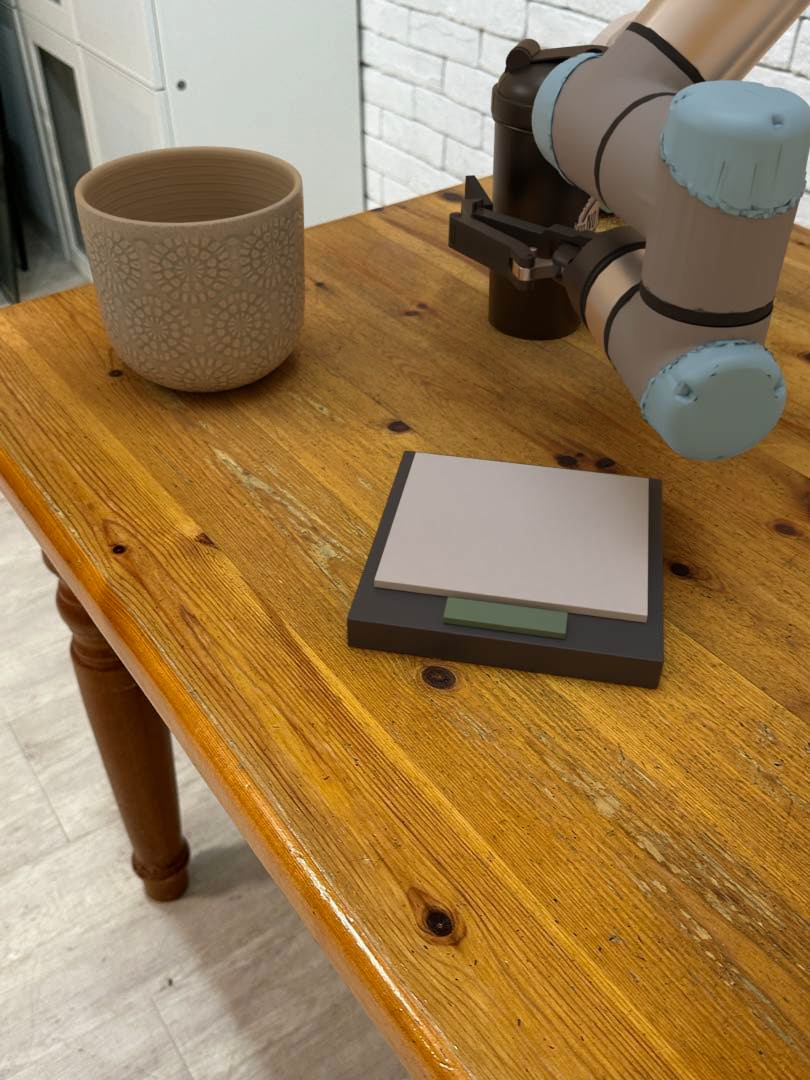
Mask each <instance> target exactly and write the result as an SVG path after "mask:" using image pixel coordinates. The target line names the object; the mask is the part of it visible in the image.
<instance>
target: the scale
mask: <svg viewBox="0 0 810 1080" xmlns="http://www.w3.org/2000/svg"><path fill="white" fill-rule="evenodd" d="M663 522H664V521H663V478H655V477H654V478H653V477H646V476H638V475H637V476H636V475H627V474H619V473H611V472H610V473H609V472H601V471H600V472H599V471H593V470H592V471H591V470H585V469H584V470H583V469H573V468H566V467H565V468H564V467H558V466H549V465H541V464H540V465H539V464H530V463H521V462H511V461H504V460H495V459H494V460H493V459H487V458H486V459H485V458H477V457H468V456H460V455H449V454H441V453H432V452H423V451H413V450H404V451H403V453H402V456H401V459H400V462H399V465H398V468H397V470H396V474H395V477H394V480H393V482H392V486H391V489H390V491H389V494H388V497H387V500H386V502H385V506H384V509H383V511H382V515H381V518H380V520H379V523H378V525H377V526H378V527H377V529H376V532H375V535H374V538H373V541H372V544H371V547H370V549H369V553H368V555H367V559H366V562H365V565H364V568H363V570H362V572H361V573H362V574H361V576H360V579H359V582H358V585H357V588H356V591H355V593H354V597H353V599H352V602H351V605H350V608H349V611H348V613H347V617H346V633H347V634H346V635H347V646H348V647H355V648H363V649H370V650H377V651H383V652H390V653H391V652H392V653H398V654H404V655H412V656H420V657H427V658H435V659H440V660H449V661H455V662H460V663H461V662H462V663H470V664H476V665H484V666H490V667H491V666H492V667H498V668H505V669H511V670H519V671H526V672H534V673H541V674H547V675H555V676H562V677H568V678H569V677H570V678H576V679H583V680H592V681H597V682H603V683H611V684H620V685H627V686H633V687H641V688H649V689H654V690H655V689H657V690H658V688H659V685H660V681H661V676H662V672H663V668H664V664H665V663H664V662H665V645H664V643H665V641H664V640H665V638H664V637H665V634H664V628H665V627H664V533H663V532H664V531H663V530H664V527H663V526H664V525H663Z"/></svg>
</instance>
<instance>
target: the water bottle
mask: <svg viewBox="0 0 810 1080" xmlns="http://www.w3.org/2000/svg"><path fill="white" fill-rule="evenodd" d="M608 49H609V47H606V46H602V45H589V44H582V45H572V46H560V47H552V48H551V47H550V48H544V49H542V48H541V45H540V44H539V43H538V41H537V40H535V39H533V38H526V39H523V40H521V41H519V42H518V43H517V44H516V45H515V46H514V47H512V49H511V50H510V51H509V52H508V54H507V56H506V58H505V67H504V71H503V72H502V73H501V75H500V77H499V78H498V81H497V82H496V83H495V84H493V86H492V88H491V96H490V113H491V118H492V120H493V122H494V129H493V130H494V133H493V161H492V187H491V188H492V190H491V201H492V203H493V211H494V212H497V213H500V214H504V215H507V216H510V217H513V218H517V219H520V220H523V221H527V222H530V223H533V224H536V225H540V226H543V227H546V228H549V227H551V226H553V225H555V224H559V225H562V226H565V227H569V228H572V229H575V230H579V231H584V230H590V231H594V232H597V227H598V220H599V214H600V210H601V209H600V202H599V201H597V200H596V199H595V198H593V197H592V196H590V195H589V194H588V193H586V192H585V191H584V190H582V189H580V188H578V187H576V186H574V185H571V184H569V183H568V182H567V181H566V180H565V179H564V178H563V177H562V176H561V175H560V173H559V171H558V170H557V169H556V168H555V167H554V166H553V165H552V164H551V163H549V162H548V161H547V160H546V159H545V158H544V156H543V154H542V153H541V151H540V150H539V148H538V146H537V144H536V141H535V138H534V134H533V129H532V112H533V106H534V102H535V98H536V96H537V93H538V91H539V89H540V87H541V85H542V83H543V82H544V80H545V79H546V77H547V76H548V75H549V73H550V72H551V71H552V70H553V69H554V68H555V67H557V66H558V65H559V64H560V63H563V62H565V61H566V60H568V59H570V58H572V57H574V56H577V55H579V54H583V53H602V54H604V53H605V52H606V51H607V50H608ZM564 242H565V241H564V240H559V247H560V246H561V245H562V244H563V243H564ZM488 274H489V277H488V302H487V303H488V304H487V305H488V306H487V319H488V322H489V323H490V324H491V325H492V327H493V328H494V329H497V331H500V332H501V333H504V334H506V335H508V336H512V337H515V338H520V339H526V340H534V341H535V340H537V341H543V340H544V341H545V340H554V339H561V338H563V337H566V336H569V335H571V334H573V333H574V332H576V331H577V330H578V329H579V328H580V327H581V324H582V320H581V319H580V317H579V316H578V314H577V313H576V311H575V310H574V308H573V306H572V304H571V302H570V299H569V297H568V294H567V291H566V288H565V286H563V285H561V284H559V283H557V282H555V281H554V280H553V279H552V277H550V278H541V279H534V284H533V289H532V290H530V291H521V290H518V289H517V288H516V287H515V286H514V284H513V283H512V282H511V281H510V280H509V279H508V278H506V277H504V276H502V275H501V274H499V273H497V272H495V271H493V270H491V269H489V273H488Z"/></svg>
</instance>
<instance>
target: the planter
mask: <svg viewBox="0 0 810 1080" xmlns="http://www.w3.org/2000/svg"><path fill="white" fill-rule="evenodd" d="M73 193H74V200H75V205H76V211H77V216H78V217H77V218H78V221H79V226H80V231H81V234H82V239H83V243H84V248H85V252H86V253H85V254H86V256H87V261H88V266H89V269H90V273H91V277H92V281H93V282H92V283H93V287H94V291H95V295H96V300H97V305H98V309H99V314H100V317H101V320H102V324H103V327H104V331H105V334H106V336H107V339H108V341H109V343H110V346H111V347H112V349H113V350H114V352H115V353H116V355H117V356H118V358H119V359H120V360H121V361H122V362H123V363H124V364H125V365H126V366H127V367H128V368H130V369H131V370H132V371H133V372H135V373H136V374H138V375H139V376H141V377H142V378H144V379H146V380H148V381H150V382H152V383H155V384H156V385H159V386H162V387H163V388H168V389H171V390H174V391H175V390H176V391H181V392H187V393H217V392H225V391H229V390H234V389H238V388H241V387H245V386H247V385H250V384H252V383H255V382H256V381H259V380H261V379H263V378H264V377H265V376H268V375H269V374H270V373H271V372H273V371H275V369H277V368H278V367H279V366H280V365H281V364H282V363H283V362H285V360H286V359H287V358H288V357H289V355H290V354H291V353H292V352H293V351H294V349H295V347H296V345H297V344H298V342H299V339H300V337H301V335H302V330H303V327H304V321H305V309H306V277H305V275H306V273H305V272H306V271H305V268H306V267H305V206H304V205H305V204H304V201H305V200H304V184H303V177H302V175H301V173H300V172H299V170H298V169H297V168H296V167H295V166H294V165H292V164H290V163H289V162H287V161H286V160H285V159H281V158H280V157H278V156H274V155H271V154H268V153H266V152H265V153H264V152H261V151H256V150H252V149H246V148H239V147H230V146H229V147H228V146H214V145H213V146H212V145H208V146H207V145H203V146H202V145H197V146H195V145H194V146H178V147H176V146H175V147H166V148H158V149H151V150H146V151H141V152H136V153H131V154H127V155H125V156H121V157H118V158H115V159H112V160H109V161H106V162H105V163H101V164H100V165H97V166H96V167H94V168H93V169H91V170H89V171H87V172H86V173H85V174H84V175H83V176H82V177H80V179H79V180H78V181H77V183H76V185H75V187H74V191H73Z"/></svg>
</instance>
